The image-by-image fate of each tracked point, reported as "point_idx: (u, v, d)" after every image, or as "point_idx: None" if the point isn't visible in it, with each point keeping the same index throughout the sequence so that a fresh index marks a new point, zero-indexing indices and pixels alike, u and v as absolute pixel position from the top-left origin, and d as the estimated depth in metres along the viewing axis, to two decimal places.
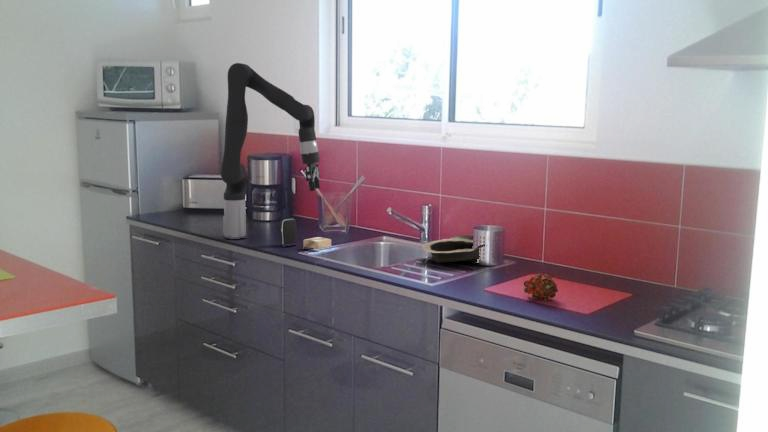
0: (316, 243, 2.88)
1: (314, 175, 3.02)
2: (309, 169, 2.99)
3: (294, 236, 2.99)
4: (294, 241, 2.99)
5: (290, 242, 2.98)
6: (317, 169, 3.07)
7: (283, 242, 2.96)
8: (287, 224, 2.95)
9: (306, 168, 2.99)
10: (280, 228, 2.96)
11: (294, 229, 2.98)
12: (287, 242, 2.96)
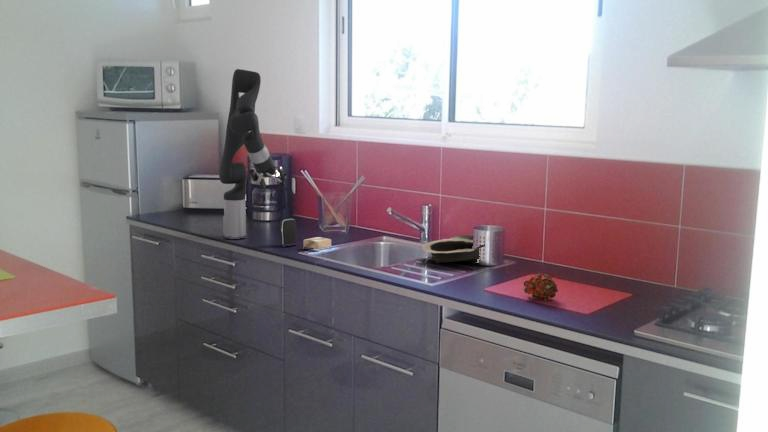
0: (316, 243, 2.88)
1: (258, 178, 2.84)
2: None
3: (294, 236, 2.99)
4: (294, 241, 2.99)
5: (290, 242, 2.98)
6: (268, 174, 2.81)
7: (283, 242, 2.96)
8: (287, 224, 2.95)
9: None
10: (280, 228, 2.96)
11: (294, 229, 2.98)
12: (287, 242, 2.96)
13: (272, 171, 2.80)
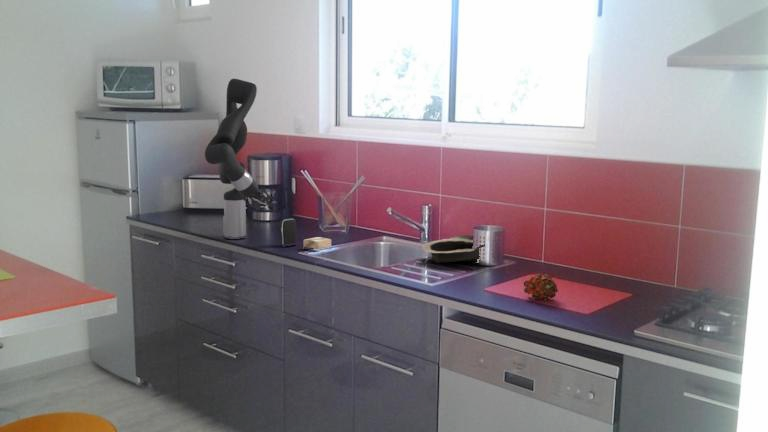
0: (316, 243, 2.88)
1: (248, 201, 2.84)
2: None
3: (294, 236, 2.99)
4: (294, 241, 2.99)
5: (290, 242, 2.98)
6: (254, 199, 2.80)
7: (283, 242, 2.96)
8: (287, 224, 2.95)
9: None
10: (280, 228, 2.96)
11: (294, 229, 2.98)
12: (287, 242, 2.96)
13: (257, 196, 2.79)
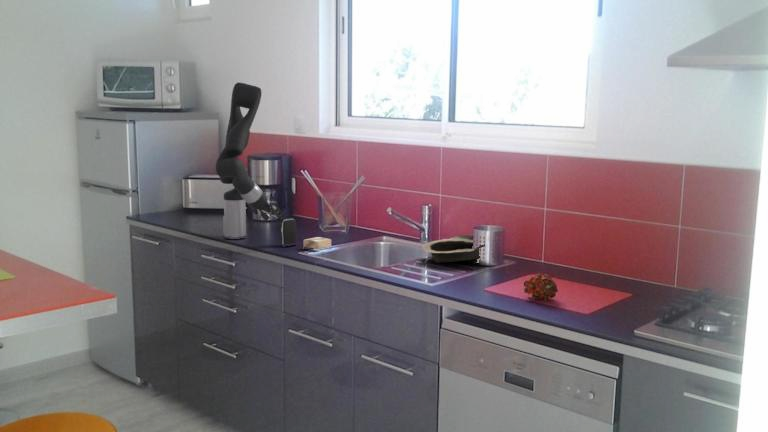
0: (316, 243, 2.88)
1: (258, 213, 2.89)
2: None
3: (294, 236, 2.99)
4: (294, 241, 2.99)
5: (290, 242, 2.98)
6: (264, 212, 2.85)
7: (283, 242, 2.96)
8: (287, 224, 2.95)
9: None
10: (280, 228, 2.96)
11: (294, 229, 2.98)
12: (287, 242, 2.96)
13: (266, 209, 2.83)
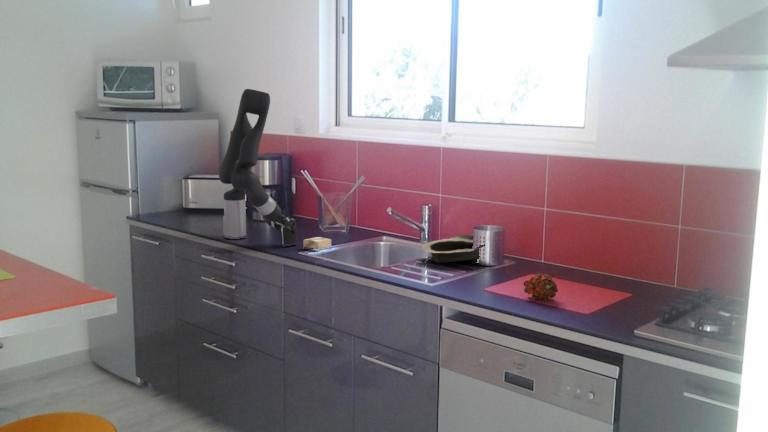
0: (316, 243, 2.88)
1: (271, 224, 2.96)
2: None
3: (294, 236, 2.99)
4: (294, 241, 2.99)
5: (290, 242, 2.98)
6: (277, 223, 2.91)
7: (283, 242, 2.96)
8: None
9: None
10: (280, 228, 2.96)
11: None
12: (287, 242, 2.96)
13: (280, 220, 2.90)
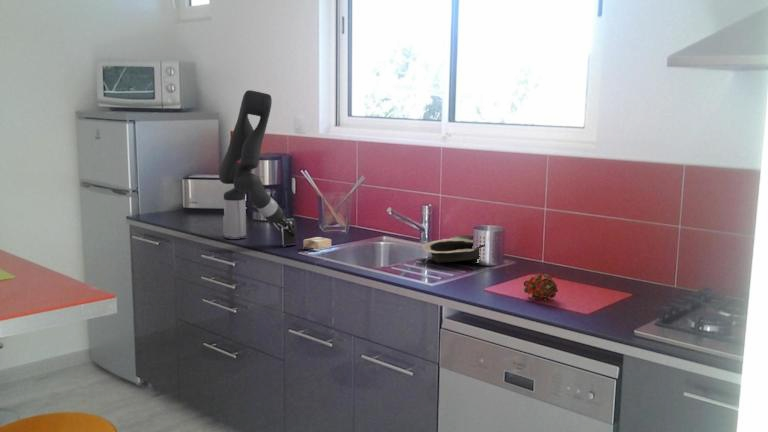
0: (316, 243, 2.88)
1: (276, 227, 2.96)
2: None
3: None
4: (294, 241, 2.99)
5: (290, 242, 2.98)
6: (279, 225, 2.92)
7: (283, 242, 2.96)
8: None
9: None
10: (280, 228, 2.96)
11: (294, 229, 2.98)
12: (287, 242, 2.96)
13: (283, 223, 2.91)
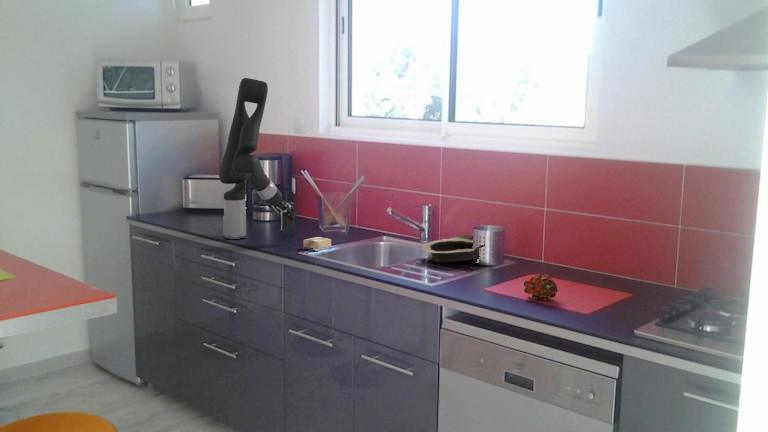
0: (316, 243, 2.88)
1: (275, 211, 2.95)
2: None
3: None
4: (293, 225, 2.98)
5: (289, 226, 2.97)
6: (278, 208, 2.91)
7: (282, 226, 2.95)
8: None
9: None
10: (279, 211, 2.95)
11: (293, 213, 2.97)
12: (286, 226, 2.96)
13: (282, 206, 2.90)
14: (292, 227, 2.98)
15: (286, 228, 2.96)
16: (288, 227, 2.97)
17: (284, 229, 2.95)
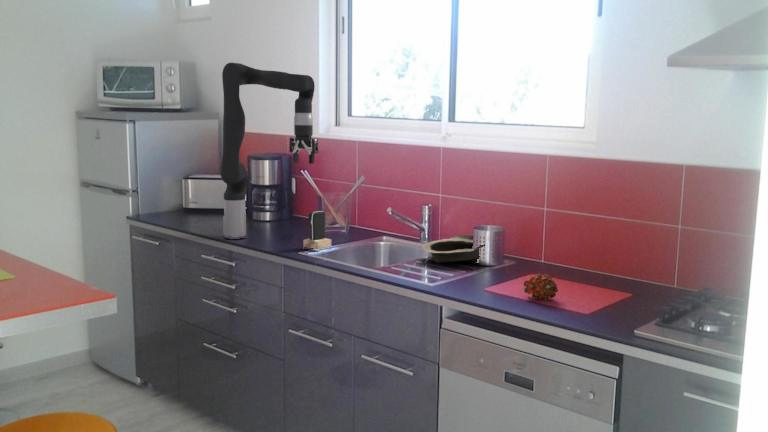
0: (316, 243, 2.88)
1: (294, 147, 2.99)
2: None
3: (323, 229, 2.92)
4: (323, 234, 2.93)
5: (319, 235, 2.91)
6: (302, 143, 2.95)
7: (313, 235, 2.89)
8: (317, 217, 2.89)
9: None
10: (309, 221, 2.89)
11: (323, 221, 2.92)
12: (317, 235, 2.90)
13: (307, 141, 2.95)
14: (322, 236, 2.93)
15: (317, 237, 2.90)
16: (319, 236, 2.91)
17: (315, 238, 2.89)
